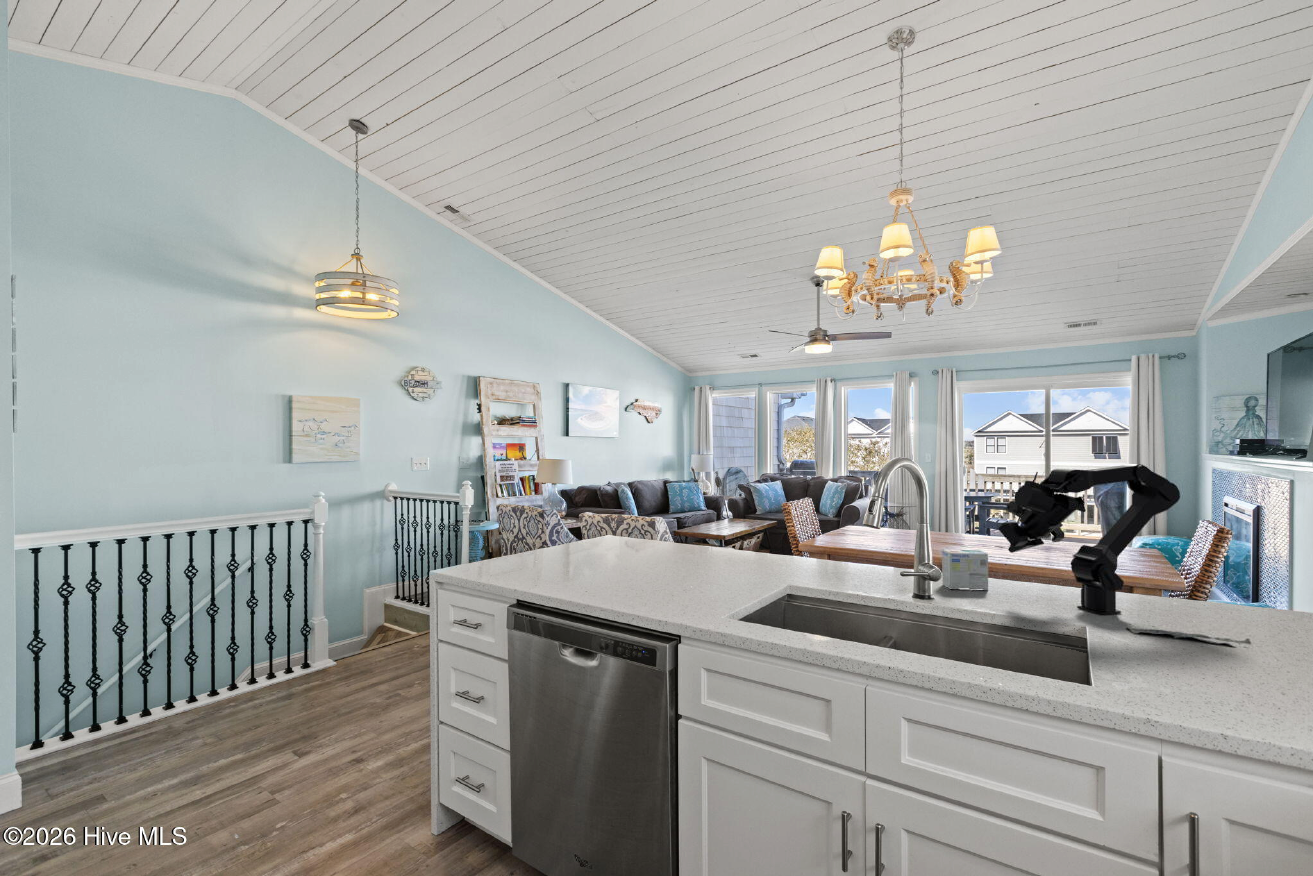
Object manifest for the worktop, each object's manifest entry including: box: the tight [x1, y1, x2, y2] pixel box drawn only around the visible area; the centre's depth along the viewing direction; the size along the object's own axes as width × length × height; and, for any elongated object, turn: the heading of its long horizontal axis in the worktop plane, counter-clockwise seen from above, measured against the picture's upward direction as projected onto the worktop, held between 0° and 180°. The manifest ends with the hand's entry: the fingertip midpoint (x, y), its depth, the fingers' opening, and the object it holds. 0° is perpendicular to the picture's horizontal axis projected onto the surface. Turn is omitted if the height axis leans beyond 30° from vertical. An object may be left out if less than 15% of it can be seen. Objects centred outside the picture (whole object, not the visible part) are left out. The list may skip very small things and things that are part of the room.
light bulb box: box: [941, 548, 989, 591], centre depth 172 cm, size 11×7×11 cm, turn 84°
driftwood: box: [1126, 626, 1252, 649], centre depth 128 cm, size 21×7×2 cm, turn 57°
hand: (1010, 551), depth 159 cm, fingers closed
